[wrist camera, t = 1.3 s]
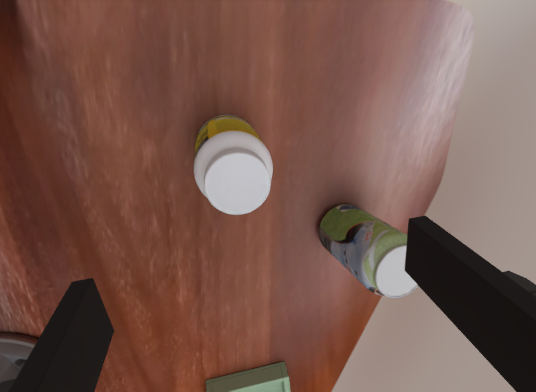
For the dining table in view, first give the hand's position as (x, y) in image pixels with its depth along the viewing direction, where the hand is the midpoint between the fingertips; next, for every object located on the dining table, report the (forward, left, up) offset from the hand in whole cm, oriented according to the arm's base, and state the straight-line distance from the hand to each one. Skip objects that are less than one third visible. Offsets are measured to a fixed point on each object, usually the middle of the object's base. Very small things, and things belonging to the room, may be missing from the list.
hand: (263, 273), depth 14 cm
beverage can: (+12, -11, -21) cm, 27 cm away
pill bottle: (0, 0, -21) cm, 21 cm away
